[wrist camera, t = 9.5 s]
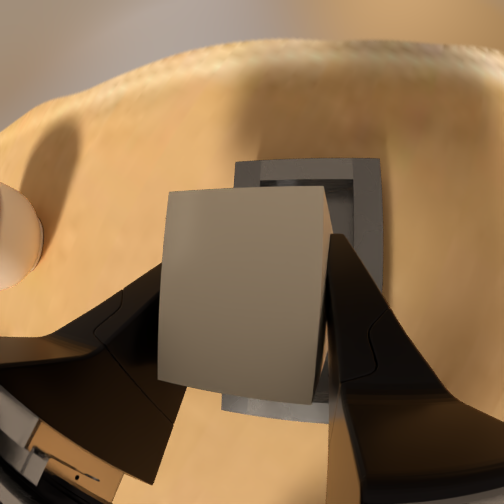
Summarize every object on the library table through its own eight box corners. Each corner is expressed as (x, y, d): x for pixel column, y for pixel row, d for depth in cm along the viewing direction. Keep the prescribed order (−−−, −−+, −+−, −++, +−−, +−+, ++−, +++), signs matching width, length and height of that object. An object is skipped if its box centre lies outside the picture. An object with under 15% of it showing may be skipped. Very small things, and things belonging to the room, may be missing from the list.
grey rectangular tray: (364, 406, 16) (367, 425, 14) (238, 394, 19) (221, 409, 16) (375, 177, 18) (379, 158, 15) (250, 179, 20) (235, 161, 17)
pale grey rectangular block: (332, 333, 15) (311, 405, 5) (268, 329, 16) (157, 379, 6) (336, 251, 15) (323, 186, 6) (273, 250, 16) (169, 191, 6)
